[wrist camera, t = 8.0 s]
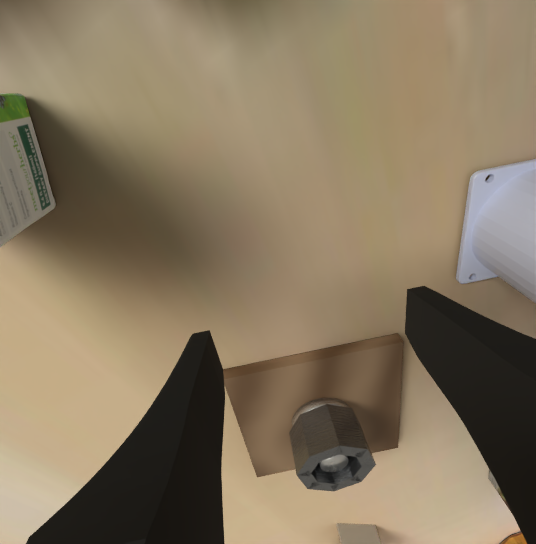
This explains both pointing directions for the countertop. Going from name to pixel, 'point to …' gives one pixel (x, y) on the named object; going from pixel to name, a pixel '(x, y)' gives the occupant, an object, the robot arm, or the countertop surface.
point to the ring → (330, 447)
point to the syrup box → (20, 170)
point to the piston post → (335, 461)
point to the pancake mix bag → (515, 539)
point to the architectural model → (358, 534)
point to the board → (317, 396)
